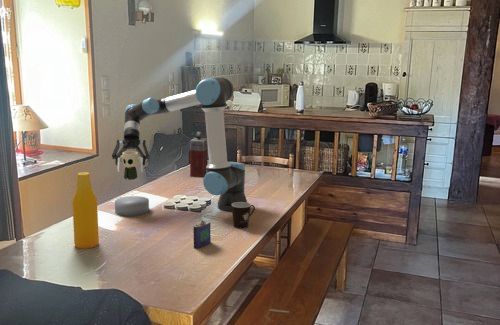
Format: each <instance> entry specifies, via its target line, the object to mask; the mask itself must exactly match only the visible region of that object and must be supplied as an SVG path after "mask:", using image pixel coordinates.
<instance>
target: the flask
mask: <svg viewBox="0 0 500 325" xmlns="http://www.w3.org/2000/svg"><path fill="white" fill-rule="evenodd" d="M211 227H212V226H211V221H209V220H207V221H206V220H204V219H201V220H200V223H198V224H195V225H194V226H193V227H192V228H193V249H201V248H205V247H206V246H208V245H209V244H211V241H212V240H211V238H212V237H211V232H212V230H211Z"/></svg>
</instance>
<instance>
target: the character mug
mask: <svg viewBox="0 0 500 325" xmlns="http://www.w3.org/2000/svg"><path fill="white" fill-rule="evenodd" d="M120 163H122V165H123V167H125V168H124V173H123V178H124V180H129V181H131V180H136V179H138V171H137V167H138V165H141V156H139V153H138V152H137V151H134V150H133V151H131V150H130V151H125V152H123V155H121V156H120Z"/></svg>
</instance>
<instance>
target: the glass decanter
mask: <svg viewBox="0 0 500 325" xmlns="http://www.w3.org/2000/svg"><path fill="white" fill-rule="evenodd" d="M195 136H196V137H194V138H191V140H190V141H189V143H190V144H189V145H190V147H189V150H188V165H189V168H190V169H189V177H191V178H202V179H203V178H204V176H205V175H206V174H207V170H206V166H207V165H208V164H209V155H208V143H207V138H203V137H202V132H201V131H196V135H195Z"/></svg>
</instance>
